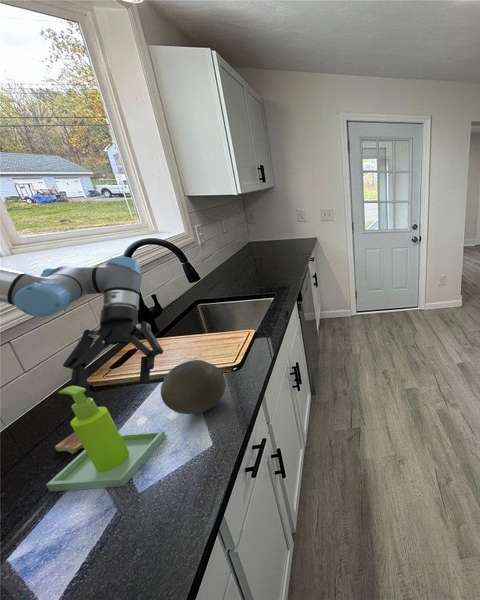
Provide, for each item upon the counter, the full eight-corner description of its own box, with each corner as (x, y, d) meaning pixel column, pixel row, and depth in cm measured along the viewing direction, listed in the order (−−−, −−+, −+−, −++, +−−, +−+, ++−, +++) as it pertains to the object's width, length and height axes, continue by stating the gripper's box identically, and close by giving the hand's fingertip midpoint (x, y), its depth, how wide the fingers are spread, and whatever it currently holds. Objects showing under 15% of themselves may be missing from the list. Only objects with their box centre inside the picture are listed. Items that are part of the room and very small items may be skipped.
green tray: (50, 491, 66) (45, 484, 65) (104, 440, 79) (101, 434, 78) (124, 486, 66) (120, 479, 66) (166, 436, 79) (163, 430, 78)
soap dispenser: (114, 447, 76) (78, 378, 68) (135, 452, 74) (100, 382, 67) (86, 468, 71) (44, 396, 63) (108, 473, 69) (67, 400, 61)
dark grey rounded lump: (183, 400, 92) (166, 356, 87) (235, 389, 96) (222, 346, 90) (164, 435, 80) (143, 386, 74) (225, 421, 83) (209, 374, 77)
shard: (102, 419, 86) (100, 414, 86) (124, 422, 85) (122, 417, 84) (55, 451, 77) (52, 445, 76) (79, 455, 75) (75, 449, 74)
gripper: (52, 312, 78) (35, 398, 70) (166, 297, 84) (162, 375, 76) (74, 322, 85) (62, 402, 77) (179, 308, 91) (177, 380, 83)
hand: (112, 389), depth 77 cm, fingers open, 13 cm apart
